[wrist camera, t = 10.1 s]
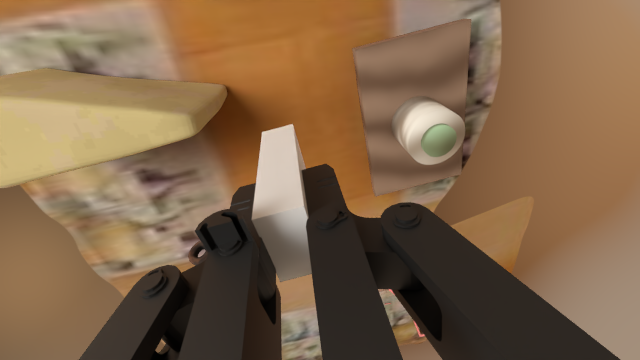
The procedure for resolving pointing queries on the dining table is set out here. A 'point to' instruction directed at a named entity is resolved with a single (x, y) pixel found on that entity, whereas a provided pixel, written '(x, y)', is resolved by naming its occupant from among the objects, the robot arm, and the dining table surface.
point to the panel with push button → (414, 105)
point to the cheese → (92, 119)
